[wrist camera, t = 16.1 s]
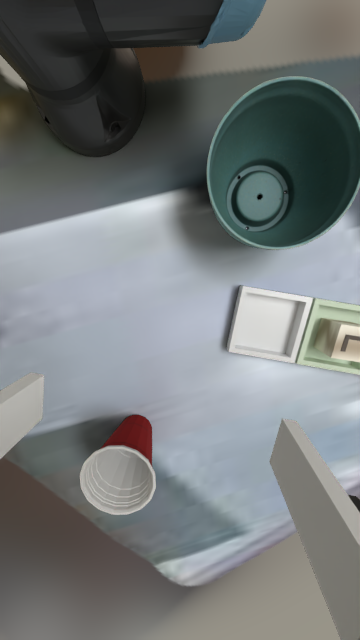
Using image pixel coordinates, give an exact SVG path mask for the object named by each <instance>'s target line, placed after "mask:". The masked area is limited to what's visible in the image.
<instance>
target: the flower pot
mask: <svg viewBox="0 0 360 640" xmlns="http://www.w3.org/2000/svg"><path fill="white" fill-rule="evenodd" d="M238 176H240V179H238ZM207 186H208V192H209V197H210V202H211V205H212V209H213V211H214V214H215V216H216V218H217V220H218V221H219V223H220V225H221V226H222V227H223V228H224V230H225V231H226V232H227V233H228V234H229V235H231V236H232V237H233V238H234V239H236V240H238V241H239V242H241V243H243V244H245V245H248V246H251V247H255V248H261V249H268V250H282V249H290V248H295V247H299V246H302V245H304V244H307V243H309V242H311V241H313V240H315V239H317V238H318V237H320V236H322V235H323V234H325V233H326V232H327V231H329V230H330V229H331V228H332V227H333V226H334V225H335V224H336V223H337V222H338V221H339V220H340V219H341V218H342V217H343V215H344V214H345V213H346V212H347V210H348V209H349V207H350V206H351V204H352V202H353V200H354V198H355V196H356V194H357V192H358V190H359V187H360V121H359V118H358V116H357V114H356V112H355V111H354V109H353V107H352V106H351V105H350V103H349V102H348V101H347V99H346V98H345V97H344V96H343V95H342V94H341V93H340V92H338V91H337V90H336V89H335V88H333V87H331V86H330V85H328V84H326V83H324V82H322V81H320V80H316V79H313V78H309V77H301V76H296V77H295V76H291V77H281V78H277V79H273V80H269V81H267V82H264V83H262V84H260V85H258V86H256V87H255V88H253V89H251V90H250V91H248V92H247V93H246V94H244V95H243V96H242V97H241V98H240V99H239V100H238V101H237V102H236V103H235V104H234V105H233V106H232V107H231V108H230V110H229V111H228V112H227V113H226V115H225V116H224V118H223V119H222V121H221V122H220V124H219V126H218V128H217V130H216V132H215V134H214V137H213V140H212V143H211V146H210V149H209V154H208V161H207ZM284 191H286V194H285V193H284ZM259 194H260V195H262V198H261V199H260V200H259V199H258V198H257V196H258V195H259ZM246 227H248V229H246Z"/></svg>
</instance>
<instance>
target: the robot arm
mask: <svg viewBox="0 0 360 640" xmlns="http://www.w3.org/2000/svg"><path fill="white" fill-rule="evenodd" d="M265 2H266V0H0V55H1V56H2V57H3V58H4V59H5V60H6V61H7V62H8V64H9V65H10V66H11V67H12V68H13V69H14V70H15V71H16V72H17V73H18V74H19V75H20V77H21V78H22V79H23V80H24V81H25V83H26V85H27V87H28V89H29V91H30V93H31V95H32V98H33V100H34V102H35V103H36V105H37V108H38V110H39V112H40V114H41V116H42V118H43V120H44V121H45V123H46V124H47V126H48V127H49V128H50V130H51V131H52V132H53V133H54V134H55V135H56V136H57V137H58V138H59V139H60V140H61V141H62V142H63V143H64V144H65V145H66V146H68V147H69V148H70V149H72V150H74V151H76V152H78V153H80V154H83V155H87V156H105V155H108V154H111V153H114V152H116V151H118V150H119V149H121V148H122V147H123V146H125V145H126V144H127V143H128V142H129V141H130V140H131V138H132V137H133V136H134V134H135V133H136V131H137V129H138V127H139V125H140V123H141V120H142V117H143V113H144V108H145V86H144V80H143V76H142V73H141V69H140V65H139V62H138V59H137V56H136V54H135V52H134V50H133V48H144V47H170V46H195V45H196V46H197V47H198V48H204V47H206V46H207V45H208V44H212V43H220V42H229V41H236V40H239V39H241V38H242V37H244V36H245V35H246V34H247V33H248V32H249V30H250V29H251V28H252V27H253V25H254V24H255V22H256V20H257V18H258V17H259V16H260V13H261V11H262V9H263V7H264V4H265ZM43 392H44V375H42V374H37V373H29V374H27V375H26V376H24V377H22V378H21V379H19V380H17V381H16V382H14V383H12V384H11V385H9V386H7V387H6V388H4V389H2V390H1V391H0V459H1V458H2V457H3V456H4V455H5V454H6V453H7V452H8V451H9V450H10V449H11V448H12V447H13V446H14V445H15V444H16V443H18V442H19V441H20V440H21V439H22V438H23V437H24V436H25V435H26V434H27V433H28V432H29V431H30V430H31V429H32V428H33V427H34V426H35V425H36V424H37V423H38V422H40V421H41V420H42V417H43ZM270 464H271V466H272V469H273V471H274V474H275V476H276V479H277V481H278V484H279V486H280V489H281V491H282V494H283V496H284V499H285V501H286V504H287V506H288V509H289V511H290V514H291V516H292V519H293V521H294V524H295V526H296V529H297V531H298V534H299V536H300V539H301V541H302V544H303V546H304V549H305V551H306V554H307V556H308V559H309V561H310V564H311V566H312V569H313V571H314V574H315V576H316V579H317V581H318V584H319V586H320V589H321V591H322V594H323V596H324V599H325V601H326V604H327V606H328V609H329V611H330V614H331V616H332V619H333V621H334V624H335V626H336V629H337V631H338V634H339V636H340V639H341V640H360V500H359V499H358V498H357V497H356V496H351V495H347V493H346V492H345V490H344V489H343V488H342V486H341V485H340V483H339V482H338V480H337V479H336V477H335V476H334V475H333V473H332V472H331V470H330V469H329V467H328V466H327V464H326V463H325V462H324V460H323V459H322V457H321V456H320V454H319V453H318V451H317V450H316V449H315V447H314V446H313V444H312V443H311V441H310V440H309V438H308V437H307V436H306V434H305V433H304V431H303V430H302V428H301V427H300V425H299V424H298V423H297V421H293V420H288V419H282V421H281V424H280V428H279V431H278V434H277V438H276V441H275V445H274V448H273V452H272V455H271V458H270Z"/></svg>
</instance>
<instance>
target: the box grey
mask: <svg viewBox="0 0 360 640" xmlns="http://www.w3.org/2000/svg"><path fill="white" fill-rule="evenodd" d="M312 300H313V298H311V297H306V296H300V295H294V294H289V293H283V292H277V291H271V290H265V289H259V288H253V287H247V286H241V285H240V287H239V291H238V296H237V301H236V305H235V310H234V314H233V319H232V324H231V328H230V333H229V337H228V342H227V349H228V351H229V352H233V353H239V354H244V355H250V356H256V357H261V358H267V359H273V360H278V361H284V362H290V363H295V359H296V356H297V352H298V349H299V346H300V342H301V339H302V335H303V332H304V328H305V325H306V321H307V318H308V314H309V311H310V307H311V304H312Z"/></svg>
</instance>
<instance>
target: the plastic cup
mask: <svg viewBox="0 0 360 640" xmlns="http://www.w3.org/2000/svg"><path fill="white" fill-rule="evenodd" d="M80 484H81V489H82V491H83V493H84V495H85V496H86V498H87V500H88V501H89V502H90V503H91V504H93V505H94V506H95V507H96V508H98V509H99V510H101V511H104V512H107V513H110V514H113V515H121V514H130V513H133V512H135V511H138V510H140V509H142V508H143V507H144V506H145V505H146V504H147V503H148V502H149V501H150V500H151V498H152V496H153V493H154V491H155V488H156V482H155V472H154V470H153V468H152V427H151V424H150V422H149V420H147V419H146V418H145V417H143V416H140V415H132V416H129V417H127V418H126V419H125V420H124V421H123V422H122V423H121V425H120V426H119V427H118V428H117V429H116V430H115V431H114V433H113V434H112V435H111V436H110V438H109V439H108V440H107V441H106V442H105V444H104V445H103V446H102V447H101V448H100V449H99V450H97V451H95V452H94V453H93V454H92V455H91V456H90V457H89V458H88V459H87V460H86V461H85V462H84V464H83V467H82V470H81V473H80Z"/></svg>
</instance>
